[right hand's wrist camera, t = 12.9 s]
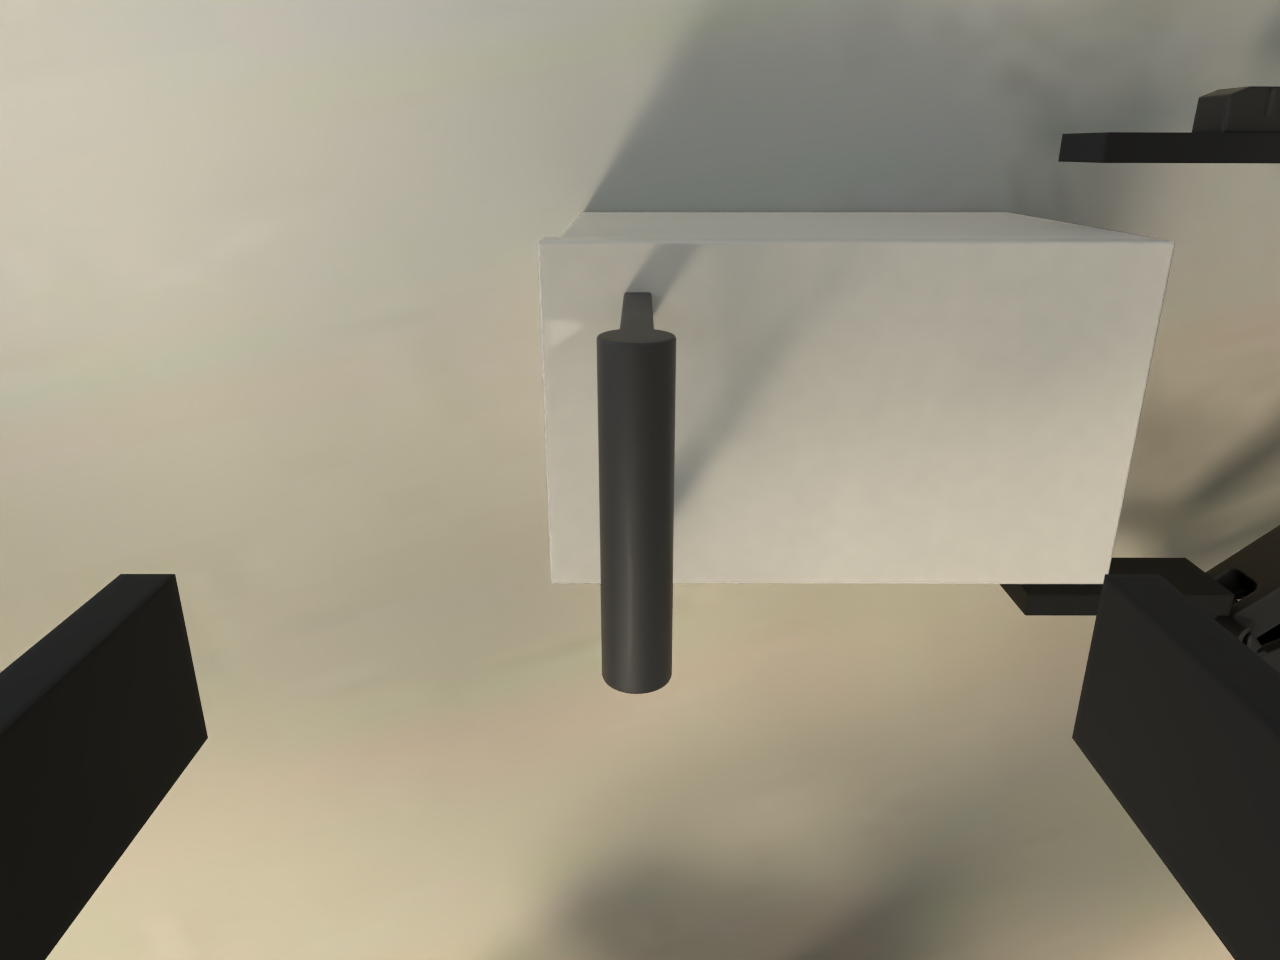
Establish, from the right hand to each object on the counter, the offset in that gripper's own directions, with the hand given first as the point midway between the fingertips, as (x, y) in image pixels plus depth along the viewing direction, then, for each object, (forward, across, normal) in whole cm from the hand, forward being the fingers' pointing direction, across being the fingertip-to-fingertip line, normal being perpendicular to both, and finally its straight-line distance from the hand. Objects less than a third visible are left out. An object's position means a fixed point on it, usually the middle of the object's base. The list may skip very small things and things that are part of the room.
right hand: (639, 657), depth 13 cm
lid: (+13, -5, 0) cm, 14 cm away
